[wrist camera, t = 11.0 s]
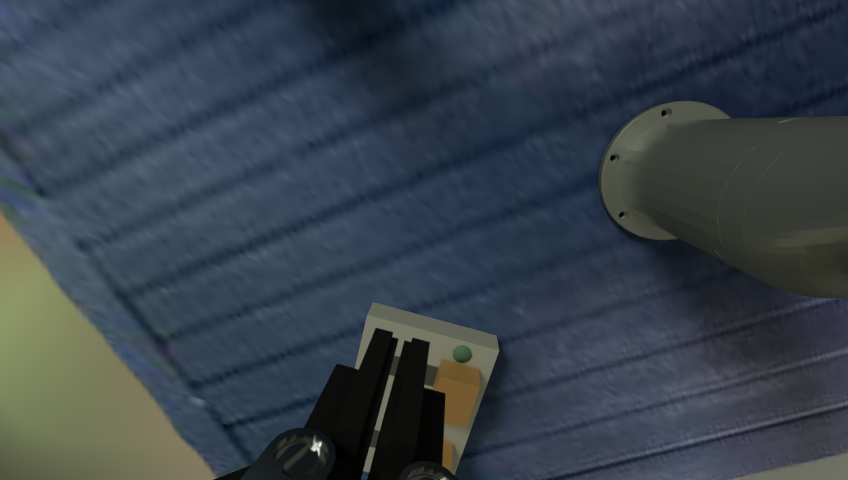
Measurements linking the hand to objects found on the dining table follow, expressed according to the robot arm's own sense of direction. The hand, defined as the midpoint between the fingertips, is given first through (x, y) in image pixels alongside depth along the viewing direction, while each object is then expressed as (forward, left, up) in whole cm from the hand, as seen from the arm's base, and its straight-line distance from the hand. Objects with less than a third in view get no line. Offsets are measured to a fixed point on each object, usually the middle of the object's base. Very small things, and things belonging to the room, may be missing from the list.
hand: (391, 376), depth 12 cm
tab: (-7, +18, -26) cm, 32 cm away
